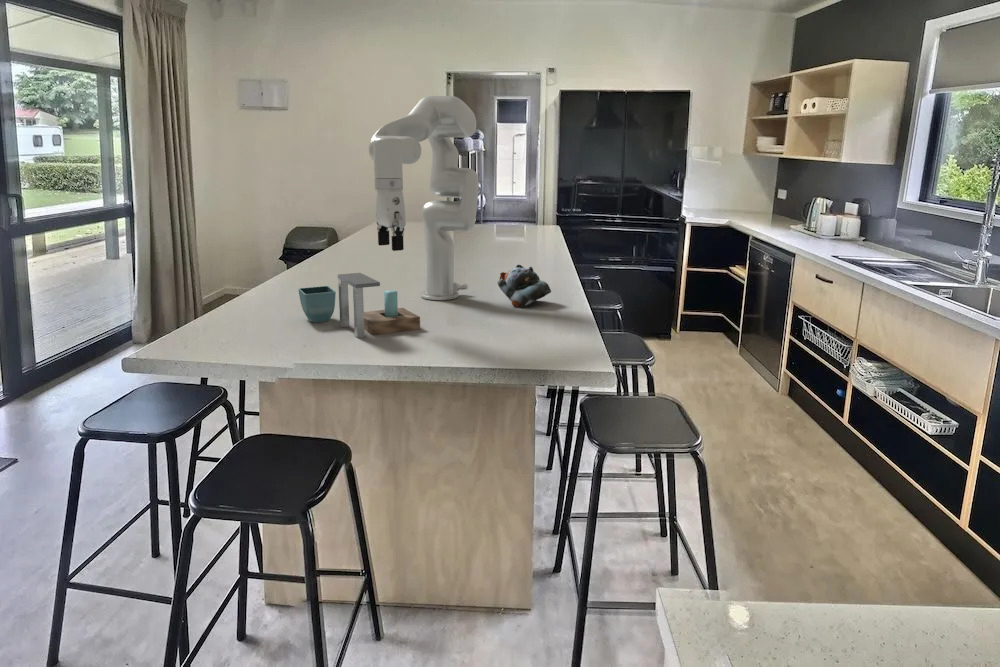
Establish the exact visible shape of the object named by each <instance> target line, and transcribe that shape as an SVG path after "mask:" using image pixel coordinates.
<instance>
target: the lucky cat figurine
mask: <svg viewBox="0 0 1000 667" xmlns="http://www.w3.org/2000/svg"><path fill="white" fill-rule="evenodd" d="M499 275H500V276H499V280H497V286H498V287H499V289H500V290H501V291H502V292H503V294H504V295H505V297H507V298H508V300H509V302H511V305H512V306H513V307H514V308H521V309H524V308H525V307H527V306H528V305H531V304H532V303H534V302H535V301H537V300H539V299H542V298H545V297H546V296H547V295H549V294H551V293H552V289H551V288H550V285H549V283H547V281H544V280H541V279H540V277H539V275H538V274H537V272H535V271H534V269H533V266H528V267H524V266H522V265H521V264H517V265H516V267H513V268H511V269H510V270H508V272H500V273H499Z"/></svg>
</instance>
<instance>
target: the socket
mask: <svg viewBox="0 0 1000 667" xmlns="http://www.w3.org/2000/svg"><path fill="white" fill-rule="evenodd" d="M416 330H421V316H419V315H418V314H416V313H413V312H411V311H410V310H408V309H406V308H404V307H398V316H395V317H387V318H386V317H385V309H380V310H369V311H364V332H366V333H368V334H370V335H371V336H375V335H376V336H377V335H384V334H391V333H399V332H407V331H408V332H409V331H416Z"/></svg>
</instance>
